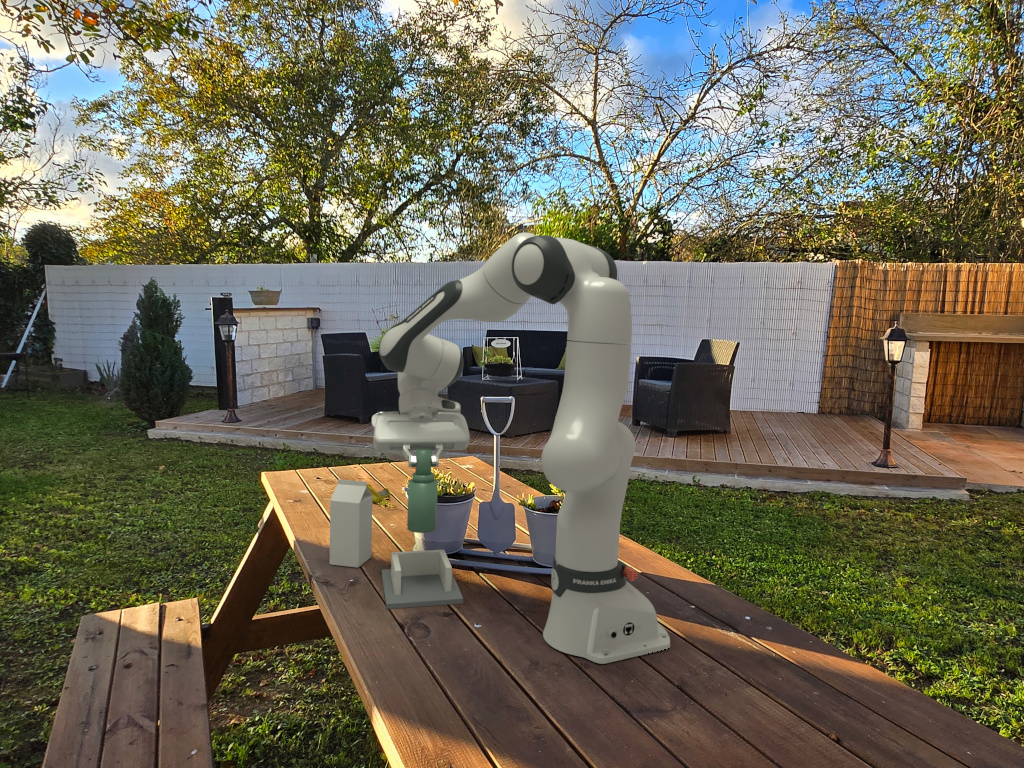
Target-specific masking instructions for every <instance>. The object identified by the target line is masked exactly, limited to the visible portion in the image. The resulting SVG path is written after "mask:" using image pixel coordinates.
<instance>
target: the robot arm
mask: <svg viewBox="0 0 1024 768" xmlns="http://www.w3.org/2000/svg"><path fill="white" fill-rule="evenodd" d="M531 297H534V298H536V299H539V300H541V301H544V302H546V303H547V304H550V305H556V304H558V303H560V304H561V305H562V306H563V307H564V308H565V310H566V314H567V316H568V318H567V319H568V320H567V321H568V323H567V324H568V325H567V337H566V340H567V341H566V347H565V348H566V351H565V366H564V377H563V386H562V392H561V396H560V400H559V404H558V407H557V412H556V415H555V419H554V423H553V427H552V429H551V430H552V431H551V434H550V436H549V439H548V440H547V442H546V443H545V446H544V447H543V449H542V453H541V457H540V458H541V460H540V462H541V470H542V472H543V474H544V476H545V478H546V480H548V481H549V483H550V484H551V485H552V486H554V487H555V488H556V489H559V490H560V491H564V492H565V493H564V497H563V499H562V500H563V501H562V504H561V506H560V508H559V510H558V513H557V516H556V535H555V536H556V538H555V539H556V541H555V556H554V557H553V559H552V568H551V578H550V579H551V590H552V595H551V596H552V597H551V601H550V607H549V611H548V616H547V620H546V623H545V626H544V628H543V631H542V636H543V639H544V641H545V642H546V643H547V644H548V645H549V646H550V647H552V648H553V649H555V650H558V651H559V652H562V653H564V654H568V655H571V656H572V655H573V656H575V657H576V656H577V657H580V658H585V659H587V660H589V661H591V662H593V663H595V664H596V663H597V664H600V665H604V664H609V663H613V662H618V661H622V660H627V659H630V658H635V657H639V656H644V655H648V653H649V654H652V652H653V653H658V652H660V651H661V650H662V651H665V650H664V649H666V650H669V649H670V648H671V638H670V635H669V634H668V632H667V630H666V629H665V628H664V627H663V626H662V625H661V624H660V623H659V622H658V615H657V612H656V608H655V607H654V605H653V604H652V603H651V601H650V600H649V599H648V598H647V597H646V596H645V595H644V594H643V593H641V591H640V590H638V589H637V588H636V587H634V586H633V584H631V583H629V582H634V581H636V580H637V579H638V577H639V573H638V571H637V570H636V569H634V568H633V567H632V566H627V564H625V562H624V561H621V560H620V559H619V550H620V548H619V547H620V546H619V545H620V530H621V520H622V512H623V508H624V502H625V499H626V495H627V490H628V489H627V488H628V484H629V478H630V472H631V466H632V462H633V459H634V456H635V452H636V440H635V437H634V434H633V432H632V431H631V430H630V428H628V426H626V425H625V424H624V423H622V422H620V421H619V418H620V415H621V410H622V407H623V404H624V401H625V398H626V395H627V393H628V390H629V383H630V382H629V381H630V370H631V368H630V367H631V357H632V341H633V340H632V336H633V332H632V331H633V319H632V305H631V297H630V292H629V290H628V288H627V287H626V286H625V284H624V283H623V282H621V281H619V280H618V267H617V264H616V262H615V260H614V258H613V256H611V255H610V254H609V253H607V252H606V251H605V250H603V249H601V248H600V247H597V246H593V245H589V244H585V243H582V242H580V241H578V240H576V239H571V238H566V237H565V238H564V237H554V236H551V235H548V234H547V235H546V234H545V235H544V234H541V235H537V234H534V233H532V232H527V231H526V232H519V233H517V234H515V235H514V236H512V237H511V238H510V239H508V240H507V241H506V242H504V243H503V244H502V245H501V246H500V247H499V248H497V250H495V252H494V253H493V254H492V255H491V256H490V257H488V259H487V260H486V261H485V263H484V264H483V265H482V266H481V267H480V268H479V269H477V270H476V271H475V272H473V273H471V274H470V275H467V276H465V277H462V278H460V279H456V280H451V281H449V282H446V283H445V284H443V286H441V287H440V288H439V289H437V290H436V291H435V292H434V293H433V294H432V295H430V296H429V297H428V298H427V299H426V300H425V301H423V302H422V303H421V304H420V305H419V306H417V308H415V309H414V310H413V311H412V312H411V313H410V314H409V315H408V316H406V317H405V318H404V319H403V320H401V321H400V322H398V323H396V324H394V325H393V326H391V327H390V328H388V329H387V331H385V332H384V335H382V338H381V339H380V343H379V346H378V354H379V357H380V359H381V362H382V363H383V365H384V366H385V368H386V369H387V370H388V371H393V372H397V389H398V393H399V397H398V411H397V410H396V411H383V410H382V411H378V412H377V413H375V414H373V415H372V416H371V419H370V420H371V422H370V424H371V427H372V428H373V429H374V430H373V441H372V442H373V444H372V448H374V450H375V451H377V452H402V456H403V457H404V458H405V459H406V461H407V462H408V463H407V464H408V468H416V455H413V454H412V453H411V452H414V451H415V452H416V449H431V450H432V452H433V451H434V453H435V455H432V457H431V468H433V467H434V468H438V467H439V465H440V464H439V463H440V462H439V461H440V460H439V459H440V457H441V456H442V454H443V451H465V450H466V449H467V448H468V447H469V444H470V441H471V436H470V431H469V427H468V423H467V420H466V418H465V416H464V415H463V414H462V413H461V407H462V406H461V404H460V403H459V402H457V401H454V400H449V399H447V398H443V397H440V396H439V395H438V394H439V393H440V391H441V392H442V391H444V390H447V388H449V387H450V386H452V385H453V384H455V383H456V382H457V381H458V380H459V379H460V377H461V376H462V373H463V371H464V366H465V365H464V364H465V363H464V356H463V355H464V354H463V351H462V349H461V347H460V346H459V345H458V344H457V343H454V342H452V341H449V340H447V339H443V338H441V337H438V336H435V335H432V334H430V333H431V332H432V331H433V330H435V329H436V328H438V326H440V324H442V323H445V322H447V321H451V320H473V321H481V322H489V323H495V322H503V321H505V320H507V319H509V318H510V317H513V316H514V315H515V314H517V312H518V311H520V309H522V307H524V306H525V305H526V303H527V302H528V301H529V300H530V299H531ZM410 451H411V452H410ZM627 580H628V581H629V582H628V581H627ZM668 648H669V649H668ZM657 651H658V652H657ZM662 651H661V652H662Z"/></svg>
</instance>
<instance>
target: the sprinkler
mask: <svg viewBox="0 0 1024 768" xmlns="http://www.w3.org/2000/svg"><path fill="white" fill-rule="evenodd" d="M367 488H368V489H369V491H370V492H371V494H372V503H373V502H375V503H379V504H378V505H379V506H380V505H383V506H385V505H386V504H388V503H392V502H391V501H390V500H386V499H384V498H387V497H388V498H390V499H391V492H390V489H389V488H387V487H383V490H380V491H376V489H375V488H374V487H373V486H372V484H369V483H368V484H367ZM382 501H383V502H382ZM386 502H387V503H386ZM375 503H374V504H375ZM389 505H391V504H389ZM392 506H394V507H392V508H396V507H398V506H397V505H394V504H392ZM386 507H388V506H386ZM389 508H391V507H389ZM396 509H397V508H396Z"/></svg>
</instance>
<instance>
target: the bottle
mask: <svg viewBox="0 0 1024 768" xmlns="http://www.w3.org/2000/svg"><path fill="white" fill-rule="evenodd" d="M432 452H433V451H432V450H431V449H416V451H415V456H416V467H415V470H414V471H415V472H412V476H411V477H412V478H411V479H409V480H408V483H407V484H408V485H407V486H408V488H407V520H406V521H407V525H406V526H407V528H406V529H407V530H408V531H409V532H411V533H418V534H420V533H421V534H422V533H423V534H424V533H425V534H426V533H427V534H428V533H431V532H435V531H436V530H437V523H438V522H437V520H438V519H437V518H438V515H437V514H438V486H439V483H438V482H439V481H438V480H437V479H436V478H435V474H434V472H432V467H431V457H432V456H433V455H432V454H433V453H432Z"/></svg>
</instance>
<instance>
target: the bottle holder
mask: <svg viewBox="0 0 1024 768" xmlns="http://www.w3.org/2000/svg"><path fill="white" fill-rule="evenodd" d="M390 557H391V558H390V561H391V562H390V569H386V568H385V569H381V581H382V586H383V592H384V601H385V608H386V610H392V609H393V610H394V609H405V608H406V609H407V608H418V607H419V608H420V607H433V606H444V605H445V606H448V605H449V606H450V605H458V604H459V605H461V604H464V597H463V594H462V593H461V589H460V588H459V585H458V583H457V581H456V578H455V576H454V573H453V568H452V565H451V562H450V560H449V558H448V555H447V553H446V551H445V549H431V550H428V549H427V550H412V551H410V550H409V551H393V552H391V556H390Z"/></svg>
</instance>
